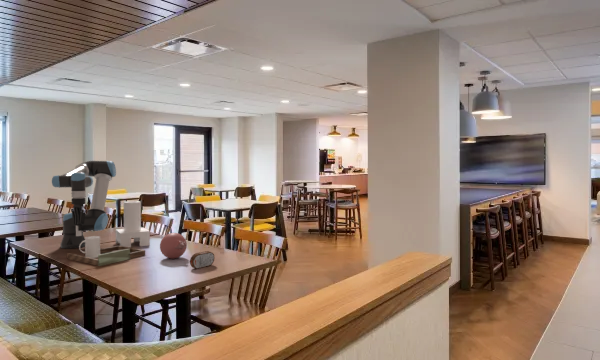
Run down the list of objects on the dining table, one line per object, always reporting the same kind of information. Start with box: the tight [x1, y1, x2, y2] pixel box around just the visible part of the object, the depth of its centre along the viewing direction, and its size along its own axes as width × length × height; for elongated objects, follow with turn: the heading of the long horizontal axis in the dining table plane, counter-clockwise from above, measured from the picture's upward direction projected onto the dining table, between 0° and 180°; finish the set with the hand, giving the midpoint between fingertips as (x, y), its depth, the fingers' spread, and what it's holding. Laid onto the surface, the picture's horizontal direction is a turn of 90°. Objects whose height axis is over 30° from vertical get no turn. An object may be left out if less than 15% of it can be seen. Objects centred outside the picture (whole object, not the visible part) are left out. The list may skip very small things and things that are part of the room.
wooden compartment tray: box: [66, 245, 146, 267], centre depth 239 cm, size 32×31×6 cm
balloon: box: [159, 232, 188, 260], centre depth 236 cm, size 15×20×15 cm
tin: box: [189, 250, 215, 269], centre depth 218 cm, size 15×3×8 cm, turn 141°
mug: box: [78, 235, 101, 259], centre depth 239 cm, size 12×8×12 cm
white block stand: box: [115, 200, 151, 248], centre depth 277 cm, size 19×19×30 cm
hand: (78, 235), depth 244 cm, fingers closed
